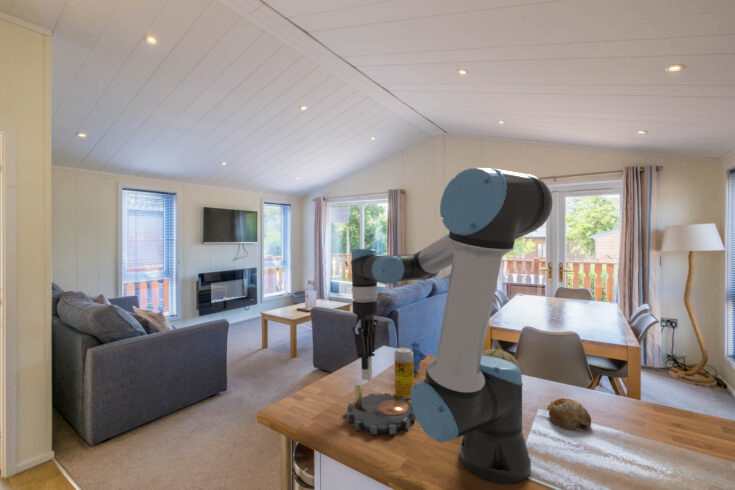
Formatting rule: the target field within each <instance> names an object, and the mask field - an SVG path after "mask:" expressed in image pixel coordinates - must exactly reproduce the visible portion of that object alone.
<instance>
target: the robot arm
mask: <svg viewBox="0 0 735 490" xmlns="http://www.w3.org/2000/svg"><path fill="white" fill-rule="evenodd" d="M439 207H440V208H439V213H440V217H441V218H442V223H443V225H444V226H445V228H446V229H447V230H448V232H449V233H447V234H446V235H444V236H442V237H440V238H439V239H437V240H436V241H434V242H432V243H431V244H430V245H428V246H426V247H424V248H423V249H421V250H419V251H417V252H415V253H413V254H409V253H408V254H391V255H390V254H387V255H386V254H383V255H377V250H376V249H375V248H356V249H353V250H352V251H351V261H350V264H351V287H352V288H351V292H352V294H351V295H352V299H353V302H352V313H353V314H354V315H356V326H353V327H352V330H351V331H352V333H353V336H354V343H355V350H356V356H357V358H360V360H361V365H360V366H361V380H366V381H371V380H372V379H373V364H372V363H373V362H372V361H373V359H372V358H373V357H375V355H376V353H374V352H375V351H376V338H377V337H376V335H377V327H378V326H377V325H378V319H375V316H374V315H376V314H377V313H378V311H379V308H378V301H377V299H378V296H379V295H378V283H380V284H383V285H388V284H389V285H392V284H396V283H398V282H406V281H419V280H422V281H423V280H424V281H426V280H430V279H433V278H436V277H437V276H438V275H439V273H440V272H441V271H442V270H444V269H446V268H448V267H450V266H451V269H450V276H449V281H448V287H447V291H446V293H447V294H446V297H445V298H446V299H445V305H444V310H443V316H442V322H441V327H440V328H441V329H440V334H439V340H438V346H437V352H436V357H434V358H432V359H431V360H430V361H429V362H428V363H427V366H426V371H425V376H424V380H419V381H417V383H415V384H414V386H413V387H412V390H411V398H410V402H411V404H412V409H413V412H414V414H415V417H416V419H415V420H416V421H417V423H418V425H419V427H420V429H422V431H423V432H424V433H425V434H426V435H427V437H429V438H430V439H432V440H433V441H435V442H437V443H445V442H449V441H455V440H457V439H458V438H461V437H462V438H461V442H460V450H459V451H460V459H461V462H462V463H463V465H464V466H465V467H466V469H468V470H469V471H470V472H471V473H473V474H475V475H476V476H478V477H479V478H482V479H484V480H487V481H490V482H494V483H499V484H515V483H516V484H517V483H520V482H521V481H524V480H526V479H527V478H528V477H529V476H530V474H531V472H532V459H531V454H530V452H529V449H528V447H527V443H526V440H525V436H524V433H523V386H524V384H523V378H522V377H523V375H521V372H522V369H521V370H520V369H519V368H518V366H516V365H515V364H513V363H511V362H509V361H506V360H503V359H500V358H495V357H490V356H482V354H483V351H484V347H485V345H486V344H485V343H486V340H487V339H486V338H487V334H488V333H487V332H488V330H489V324H490V319H491V313H492V311H493V310H492V309H493V304H494V299H495V296H496V295H495V293H496V289H497V285H498V279H499V274H500V271H501V267H502V265H501V264H502V259H503V257H504V256H505V255H506V254H508V253H509V252H510V253H511V251H513V250H514V246H515V241H516V240H517V239H519V238H521V237H524V236H526V235H529V234H531V233H533V232H535V231H537V230H538V229H540V228H541V227H542V226H543V225H544V224H545V223H546V222H547V220H548V219H549V217H550V215H551V213H552V209H553V197H552V192H551V190H550V189H549V187H548V186H547V184H546V183H545V182H544V181H543V180H541V179H540V178H539V177H537V176H535V175H532V174H530V173H524V172H514V171H509V170H503V169H498V168H491V167H471V168H467V169H464V170H462V171H460V172H459V173H457V174H456V175H455V177H453V178H452V179H451V180H449V182H448V183H447V185H446V186H445V189H444V190H443V193H442V196H441V199H440V204H439Z"/></svg>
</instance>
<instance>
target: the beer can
mask: <svg viewBox="0 0 735 490" xmlns="http://www.w3.org/2000/svg"><path fill="white" fill-rule="evenodd" d="M414 372H415V371H414V370H413V352H412V348H410V347H404V346H402V347H397V348H396V349H395V352H394V394H395V396H396V397H399V396H401V397H404V398H405V400H409V399H411V390H412V387H413V386H414V385H415V384H414V383H415V381H414V380H415V379H414V375H415V373H414Z"/></svg>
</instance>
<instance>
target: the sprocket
mask: <svg viewBox="0 0 735 490" xmlns="http://www.w3.org/2000/svg"><path fill="white" fill-rule="evenodd" d="M346 420H347V423H353V424H354V425H353V426H354V429H355V430H357V431H361V430H363V431H366V432H369V434H370V435H374V436H375V435H376V436H377V435H378V434H388V435H394V434H395V435H396V434H397V431H401V430H402V429H404V430H408V429H410V428H411V421H412V422H416V420H417V419H416V417H415V414H414V412H413V409H412V404H411V401H410V402H408V401H406V399H405V398H404V397H401V396H399V397H397V395H392V394H391V393H385V392H384V394H383V393H382V394H381V393H380V394H379V393H378V394H376V393H374V392H373V393H368V395H366V396H363V386H362V385H360V384H357V385H355V386H354V402H353V403H350V402H349V403H348V405H347V412H346Z"/></svg>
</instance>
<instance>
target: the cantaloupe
mask: <svg viewBox="0 0 735 490" xmlns="http://www.w3.org/2000/svg"><path fill="white" fill-rule="evenodd" d="M482 356H490V357H495V358H500V359H503V360H506V361H509V362H511V363H513V364H515V365H516V366H518V368H519V369H520V370H521V375H522V368H521V366H520V364H519V362H518V360H517V359H516V358H515V356H514V355H512V354H511V353H509V352H507V351H504V350H503V349H502V348H501V347H500V346H498V345H497V346H496V349H495V348H489V349H486V350H483V354H482ZM522 376H523V375H522Z"/></svg>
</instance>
